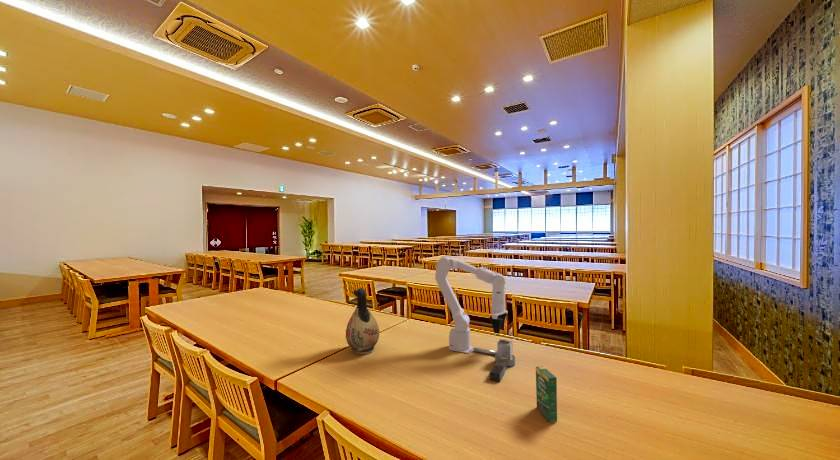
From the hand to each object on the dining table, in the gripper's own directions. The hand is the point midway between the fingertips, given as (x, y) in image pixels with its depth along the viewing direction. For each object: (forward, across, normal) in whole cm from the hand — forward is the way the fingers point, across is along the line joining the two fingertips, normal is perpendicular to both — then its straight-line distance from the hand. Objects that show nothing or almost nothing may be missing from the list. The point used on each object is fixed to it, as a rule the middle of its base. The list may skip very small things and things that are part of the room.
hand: (498, 330), depth 140 cm
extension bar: (+10, -4, +5) cm, 12 cm away
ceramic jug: (+10, -27, +56) cm, 63 cm away
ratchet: (+10, -16, -5) cm, 20 cm away
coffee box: (+10, -39, -24) cm, 47 cm away
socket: (+7, -10, -5) cm, 13 cm away
